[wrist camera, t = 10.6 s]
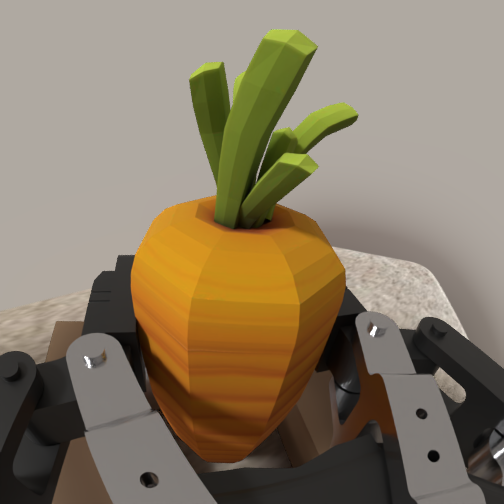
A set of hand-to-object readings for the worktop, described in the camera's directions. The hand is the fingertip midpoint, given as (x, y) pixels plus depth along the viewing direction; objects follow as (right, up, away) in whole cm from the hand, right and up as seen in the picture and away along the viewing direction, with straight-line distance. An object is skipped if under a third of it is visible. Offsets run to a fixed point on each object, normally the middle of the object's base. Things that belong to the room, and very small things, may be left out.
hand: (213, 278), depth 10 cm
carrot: (0, -8, +2) cm, 9 cm away
